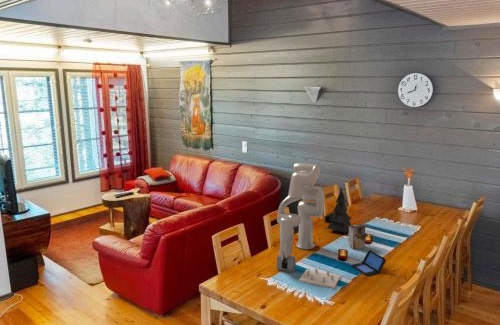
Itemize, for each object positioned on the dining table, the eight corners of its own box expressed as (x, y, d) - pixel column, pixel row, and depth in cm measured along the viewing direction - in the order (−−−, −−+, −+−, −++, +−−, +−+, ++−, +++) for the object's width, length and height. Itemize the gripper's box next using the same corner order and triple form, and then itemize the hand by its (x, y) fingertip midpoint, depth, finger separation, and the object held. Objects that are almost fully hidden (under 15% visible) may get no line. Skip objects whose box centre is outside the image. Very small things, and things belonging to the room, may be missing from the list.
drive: (279, 266, 241) (279, 253, 240) (295, 269, 237) (295, 256, 236) (276, 269, 237) (276, 256, 236) (292, 272, 233) (292, 259, 231)
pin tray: (306, 271, 235) (306, 265, 234) (340, 277, 226) (340, 271, 225) (299, 281, 222) (299, 275, 222) (334, 288, 214) (334, 282, 213)
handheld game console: (350, 267, 240) (351, 252, 239) (368, 263, 245) (369, 249, 244) (367, 278, 226) (367, 262, 224) (385, 273, 231) (386, 259, 229)
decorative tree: (345, 237, 287) (347, 191, 281) (326, 233, 296) (327, 188, 289) (352, 232, 299) (354, 187, 293) (334, 228, 307) (336, 184, 301)
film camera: (340, 221, 325) (340, 210, 324) (343, 224, 316) (343, 214, 314) (322, 221, 325) (322, 210, 323) (324, 225, 315) (324, 214, 314)
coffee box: (359, 246, 272) (360, 223, 269) (364, 249, 266) (365, 226, 263) (347, 247, 270) (348, 225, 267) (352, 251, 264) (353, 228, 261)
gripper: (285, 232, 243) (285, 260, 246) (275, 241, 228) (274, 271, 231) (297, 234, 239) (296, 262, 243) (287, 243, 224) (287, 273, 228)
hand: (286, 266), depth 237 cm, fingers closed on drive, 5 cm apart
